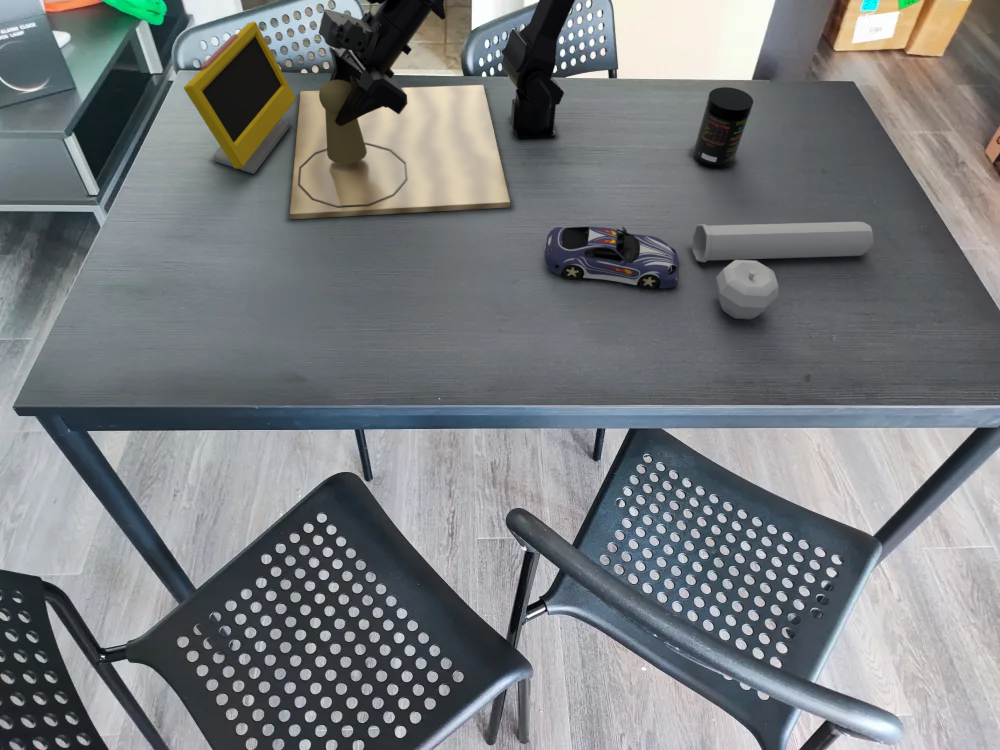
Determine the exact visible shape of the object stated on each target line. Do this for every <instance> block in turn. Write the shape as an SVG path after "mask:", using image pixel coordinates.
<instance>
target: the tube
mask: <svg viewBox="0 0 1000 750" xmlns="http://www.w3.org/2000/svg"><path fill="white" fill-rule="evenodd" d="M692 235H693V236H692V253H693V256H694V258H695V260H696V262H699V263H706V262H707V261H727V260H728V261H731V260H733V261H734V260H763V259H765V260H766V259H792V258H793V259H795V258H797V259H798V258H826V257H828V258H829V257H857V256H858V257H861V256H863V255H864V254H865V253H866V252H868V251H869V250H870V248H871V247H872V246H873V245H874V244H875V241H874V233H873V229H872V226H871V225H870V224H867V223H865V222H864V221H834V222H833V221H831V222H830V221H829V222H795V223H794V222H792V223H791V222H790V223H789V222H788V223H759V224H757V223H753V224H718V225H707V224H705V223H704V224H702V223H697V224H696V226H695V229H694V233H693V234H692Z"/></svg>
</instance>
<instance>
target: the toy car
mask: <svg viewBox="0 0 1000 750" xmlns="http://www.w3.org/2000/svg"><path fill="white" fill-rule="evenodd" d="M543 251H544V262H545V263H546V265H547V266H548V267H549V270H551V271H552V272H554V273H556V274H557V275H559V276H561V275H563V276H564V277H565V278H566V279H569V280H576V279H579V278H580V277H581V276H582V278H583V279H594V280H604V281H612V282H617V283H622V284H627V285H633V286H637V285H638V283H639V286H640V287H642V288H643V289H646V290H652V289H655V288H656V287H657V286H658V288H659V289H670V288H674V287H676V286H677V285H678V280H677V279H678V278H677V276H678V274H679V267H680V265H679V264H680V262H679V256H678V252H677V250H676V249H675V248H674V247H672V246H671V245H669V243H668V242H666V241H664V240H662V239H661V238H660V237H656V236H653V235H646V234H636V233H629V232H628V231H627V228H625V227H624V226H621V229H619V228H615V227H608V226H593V225H592V226H555V227H554V228H553V229H551V230H550V231H549V232H548V234H547V236H546V242H545V245H544V248H543ZM582 273H583V274H582Z"/></svg>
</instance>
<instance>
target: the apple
mask: <svg viewBox="0 0 1000 750" xmlns="http://www.w3.org/2000/svg"><path fill="white" fill-rule="evenodd" d="M715 279H716V280H715V287H716V288H715V289H716V293H717V297H718V300H719V301H718V302H719V304H720V307H721V309H722V311H723V312H724V313H725V314H727V315H729V316H730V317H732V318H733V319H739V320H752V319H755V318H756V317H758V316H760V315H761V314H762V313H763V312H765V310H766V309H767V308H769V307H770V305H771V304H773V302H774V301H775V300H777V298H778V297H779V283H778V279H777V276H776V274H775V271H774V270H772V269H771V268H769V267H768V266H766V265H764V264H763V263H761V262H760V261H758V260H752V259H735V260H733V261H732V262H730V263H729V264H728V265H727V266H725V267H724V268H723V269H722V270H721V271H720V272H719V273H718V274H717V275H716V276H715Z"/></svg>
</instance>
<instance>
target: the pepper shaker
mask: <svg viewBox="0 0 1000 750" xmlns="http://www.w3.org/2000/svg"><path fill="white" fill-rule="evenodd" d="M318 91H319V99H320V102H321V104H322V106H323V107H324V108H325V113H326V136H327V156H328V157H329V159H330V160H332V161H333V162H336V163H340V164H351V163H355V162H358V161H360V160H362V159H363V158H364V157H365V155H366V154H367V149H366V146H365V143H364V139H363V136H362V132H361V129H360V126H359V122H358V119H355V120H353V121H351V122H349V123H347V124H345V125H343V126H339V125H337V124H336V123H335V120H336V118H337V116H338V114H339V112H340V110H341V108H342V106H343V104H344V103H345V101H346V99H347V97H348V95H349V94H350V92H351V84H350V83H348V82H346V81H343V80H331V81H330V80H328V81H326V82H324V83H323V84H321V86H320V88H319V90H318Z"/></svg>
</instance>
